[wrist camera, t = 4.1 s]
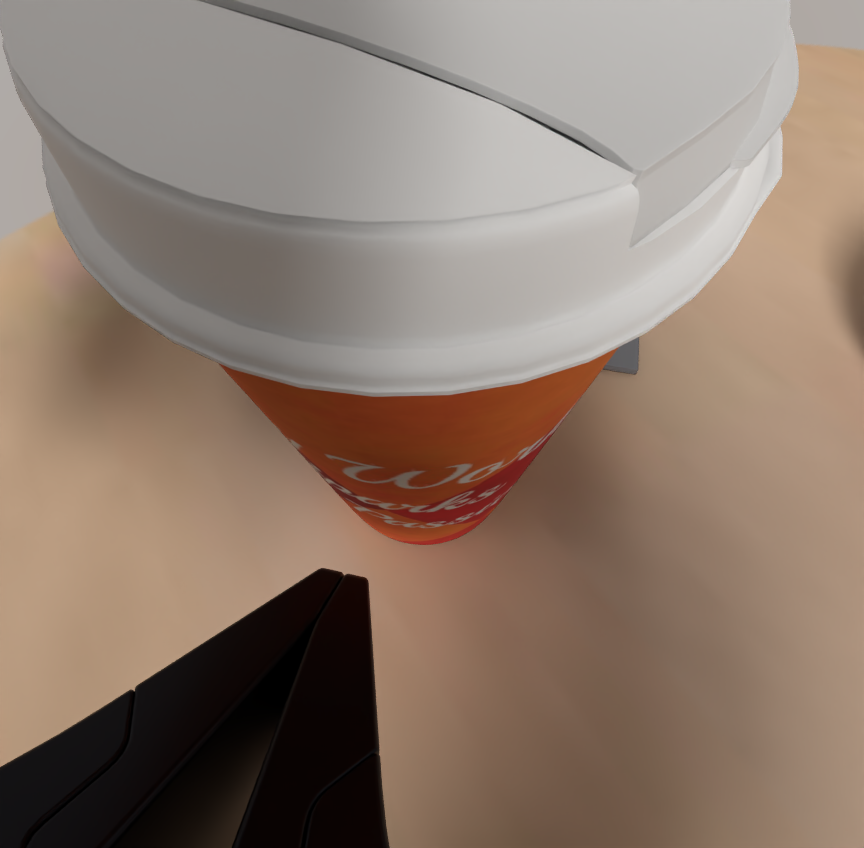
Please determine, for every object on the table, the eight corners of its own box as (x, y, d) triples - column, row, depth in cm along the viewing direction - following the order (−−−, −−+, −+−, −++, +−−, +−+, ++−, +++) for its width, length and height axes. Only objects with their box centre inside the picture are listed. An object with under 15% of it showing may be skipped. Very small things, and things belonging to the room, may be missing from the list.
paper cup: (282, 551, 16) (-338, 173, 3) (348, 352, 19) (174, -256, 6) (523, 605, 15) (1009, 409, 2) (551, 390, 18) (832, -202, 5)
